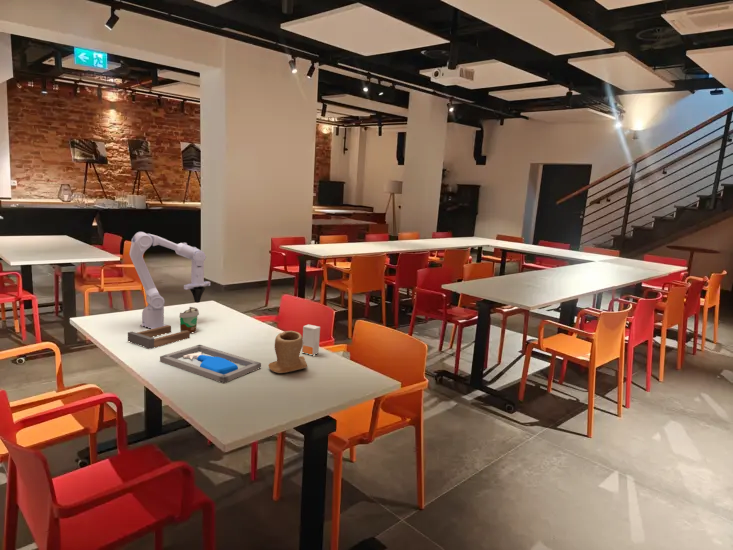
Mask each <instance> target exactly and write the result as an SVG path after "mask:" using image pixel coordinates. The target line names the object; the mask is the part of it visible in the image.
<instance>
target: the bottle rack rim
mask: <svg viewBox="0 0 733 550" xmlns="http://www.w3.org/2000/svg"><path fill="white" fill-rule="evenodd" d="M199 352H202V354H206V355H208V356H213V357H220V358H224V359H226V360H228V361H230V362H233V363H234V364H237V365H238V364H239V365H241V366H242V367H240V368H238V369H237V370H235V371H232V372H230V373H227V374H224V375H223V374H220V373H217V372H214V371H211V370H208V369H205V368H202V367H200V365H196V364H193V363H191V362H190V363H189V362H187V361H184V360H181V359H180V358H183V356H184V355H188V354H193V353H199ZM160 361H161V362H160ZM159 362H160V363H164V364H167V365H169V366H172V367H175V368H178V369H181V370H185V371H187V372H190V373H193V374H196V375H199V376H200V377H201V376H202V377H204V378H208V379H210V378H211V379H210V380H213V379H214V380H213V381H216V380H217V381H216V382H219V381H220V382H219V383H222V382H223V383H222V384H226V383H228V382H230V381H233V380H235V379H238V378H240V377H242V375H243V376H244V374H245V375H248V374H249V372H250V373H252V372H254V371H253V370H255V371H257V370H259V369H258V368H260V367H261V368H262V363H261V362H258V361H256V360H252V359H249V358H245V357H243V356H240V355H236V354H232V353H229V352H226V351H222V350H218V349H215V348H213V347H210V346H206V345H202V344H197V345H194V346H190V347H186V348H184V349H181V350H177V351H173V352H170V353H167V354H163V355H160V356H159ZM261 368H260V369H261ZM256 369H257V370H256ZM251 371H252V372H251ZM247 373H248V374H247ZM239 376H240V377H239ZM237 377H238V378H237ZM234 378H235V379H234ZM232 379H233V380H232ZM227 381H228V382H227ZM225 382H226V383H225Z"/></svg>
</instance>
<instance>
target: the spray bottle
mask: <svg viewBox="0 0 733 550" xmlns="http://www.w3.org/2000/svg"><path fill="white" fill-rule="evenodd" d="M182 358H183V359H189V360H190V361H192V360H195V359H196V360H197V361H198V362H199V361H200V362H201V363H200V364H199V367H202V368H205V369H208V370H211V371H214V372H217V373H220V374H223V375H224V374H227V373H230V372H232V371H235V370H237V369H239V366H238V364H237V363H235V362H232V361H228V360H226V359H224V358H220V357H215V356H212V355H207V354H206V355H205V354H203V352H196V353H193V354H188V355H184V356H183V357H182Z"/></svg>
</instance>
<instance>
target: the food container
mask: <svg viewBox="0 0 733 550" xmlns="http://www.w3.org/2000/svg"><path fill="white" fill-rule="evenodd" d="M199 315H200V312H199V309H198V308H197V307H195V306H194V307H193V306H189V309H187V310H184V311H183V312H179V326H180V332H182V331H186V330H187V331H190V334H193V333H192V332H194V333H196V332H197V324H198V316H199ZM195 331H196V332H195Z"/></svg>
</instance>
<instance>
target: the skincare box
mask: <svg viewBox="0 0 733 550" xmlns="http://www.w3.org/2000/svg"><path fill="white" fill-rule="evenodd" d="M320 334H321V326H318V325H314V324H309V323H308V324H306V325H303V327H302V340H303V345H302V348H301V353H302V352H304V353H308V354H312V355H314V354H316V353H318V354H319V349H320V337H321V335H320Z"/></svg>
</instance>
